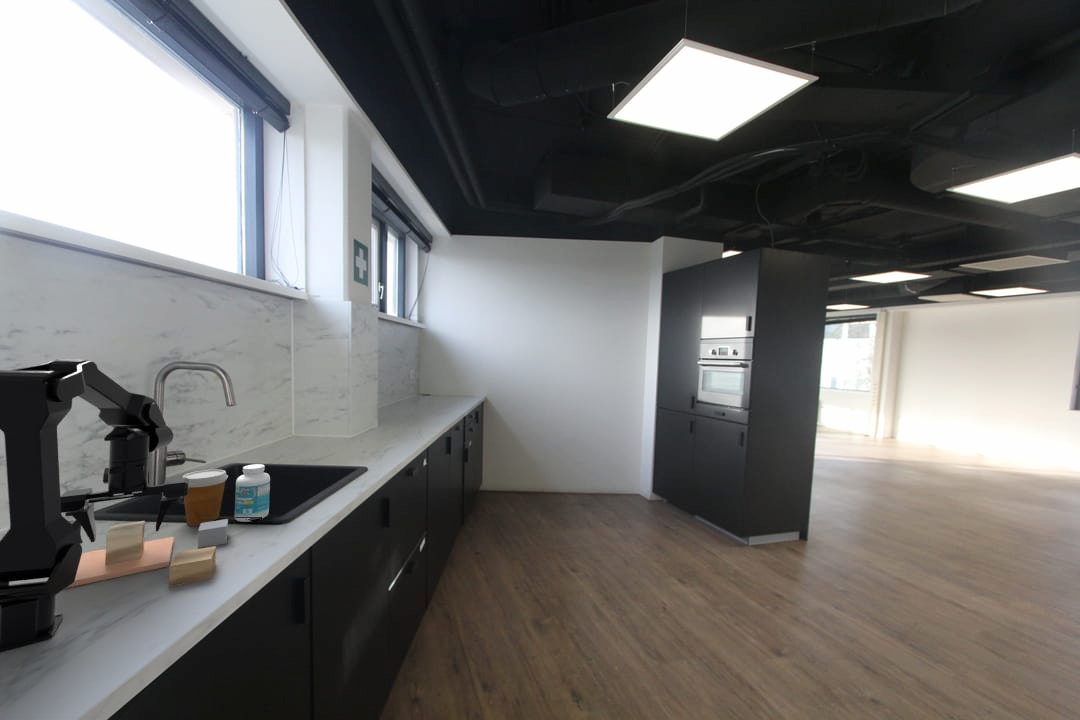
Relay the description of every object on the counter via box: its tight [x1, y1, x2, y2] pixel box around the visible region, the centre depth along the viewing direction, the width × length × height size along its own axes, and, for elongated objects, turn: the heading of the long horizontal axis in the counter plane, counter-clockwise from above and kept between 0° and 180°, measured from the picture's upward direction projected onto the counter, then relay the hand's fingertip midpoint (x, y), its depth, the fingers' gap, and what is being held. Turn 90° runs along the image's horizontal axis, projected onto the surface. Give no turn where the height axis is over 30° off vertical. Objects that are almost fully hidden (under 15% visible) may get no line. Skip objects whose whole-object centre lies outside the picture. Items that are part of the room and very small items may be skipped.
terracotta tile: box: [66, 536, 175, 589], centre depth 83 cm, size 14×14×1 cm
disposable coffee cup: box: [181, 469, 229, 526], centre depth 105 cm, size 10×10×12 cm
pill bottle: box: [234, 463, 271, 523], centre depth 108 cm, size 8×7×14 cm
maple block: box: [105, 520, 146, 565], centre depth 83 cm, size 5×5×6 cm
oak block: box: [168, 545, 217, 588], centre depth 79 cm, size 6×6×4 cm
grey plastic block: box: [197, 518, 229, 549], centre depth 94 cm, size 5×5×4 cm
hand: (126, 535), depth 84 cm, fingers open, 9 cm apart
